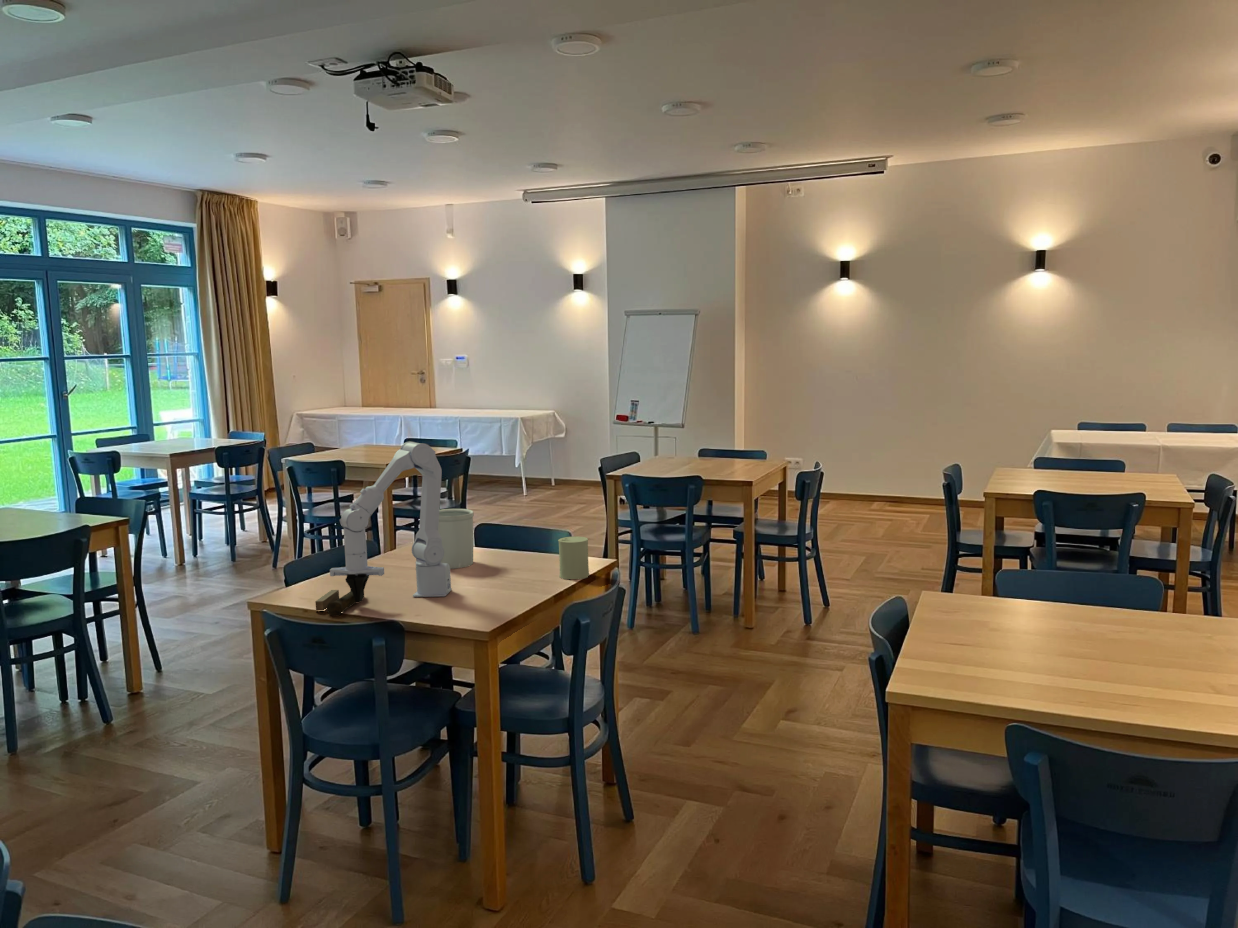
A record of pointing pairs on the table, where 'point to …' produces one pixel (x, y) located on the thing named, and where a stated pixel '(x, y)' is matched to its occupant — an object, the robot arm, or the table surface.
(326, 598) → the block
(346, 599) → the hand tool
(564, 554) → the can
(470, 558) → the utensil holder
